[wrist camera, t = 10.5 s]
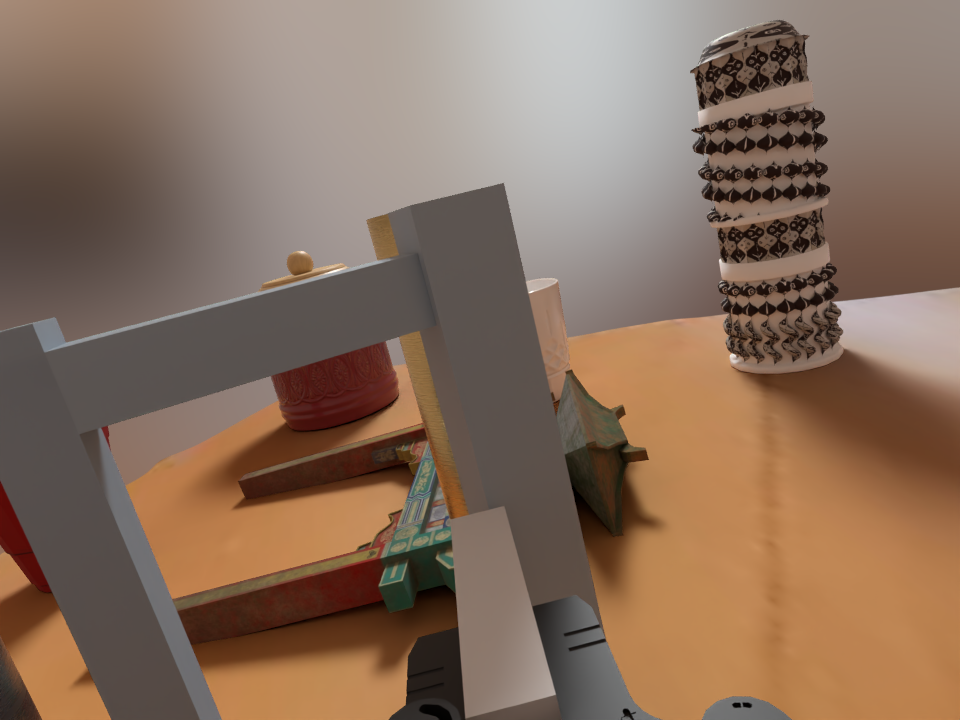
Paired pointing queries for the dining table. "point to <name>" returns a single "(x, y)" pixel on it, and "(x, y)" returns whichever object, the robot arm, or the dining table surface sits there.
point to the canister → (332, 373)
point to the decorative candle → (767, 199)
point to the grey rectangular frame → (259, 354)
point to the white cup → (550, 330)
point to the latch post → (424, 388)
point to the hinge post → (14, 691)
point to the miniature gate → (398, 524)
